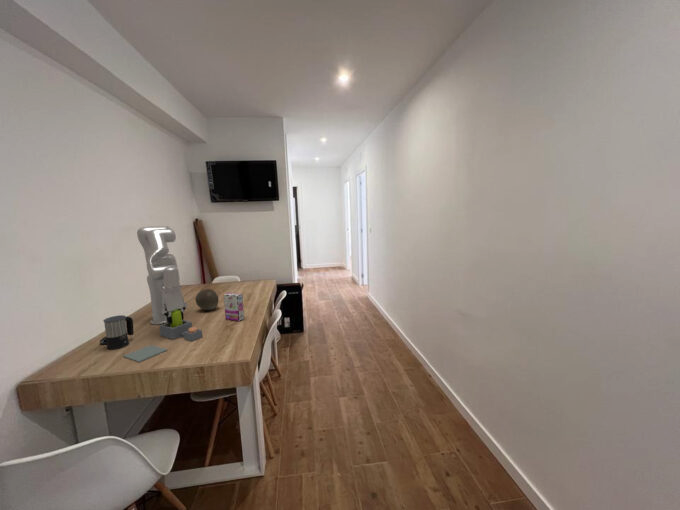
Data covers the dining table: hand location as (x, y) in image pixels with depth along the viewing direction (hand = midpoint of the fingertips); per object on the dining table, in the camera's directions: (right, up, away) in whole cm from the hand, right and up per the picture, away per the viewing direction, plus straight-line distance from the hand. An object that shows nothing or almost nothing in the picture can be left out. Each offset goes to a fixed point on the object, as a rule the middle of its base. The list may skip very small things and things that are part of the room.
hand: (175, 321), depth 164 cm
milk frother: (-26, -10, -11) cm, 30 cm away
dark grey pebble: (-1, -2, +43) cm, 43 cm away
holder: (+5, -8, -2) cm, 9 cm away
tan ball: (+13, -6, -6) cm, 15 cm away
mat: (-2, -11, -23) cm, 25 cm away
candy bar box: (+25, -4, +23) cm, 34 cm away
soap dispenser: (0, -8, +1) cm, 8 cm away
